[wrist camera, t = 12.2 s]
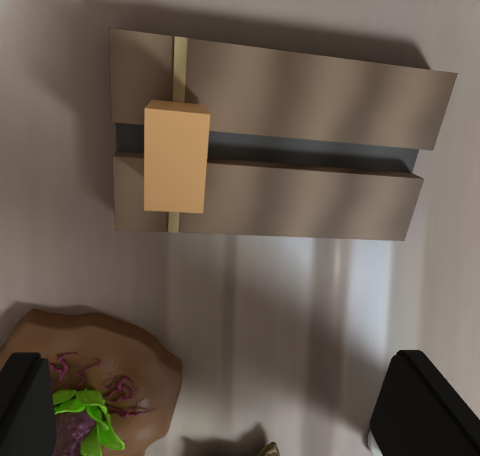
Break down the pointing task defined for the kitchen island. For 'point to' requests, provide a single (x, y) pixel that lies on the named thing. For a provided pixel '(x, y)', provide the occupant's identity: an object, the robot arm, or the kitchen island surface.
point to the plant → (101, 381)
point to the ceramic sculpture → (269, 450)
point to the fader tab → (175, 156)
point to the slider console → (279, 137)
